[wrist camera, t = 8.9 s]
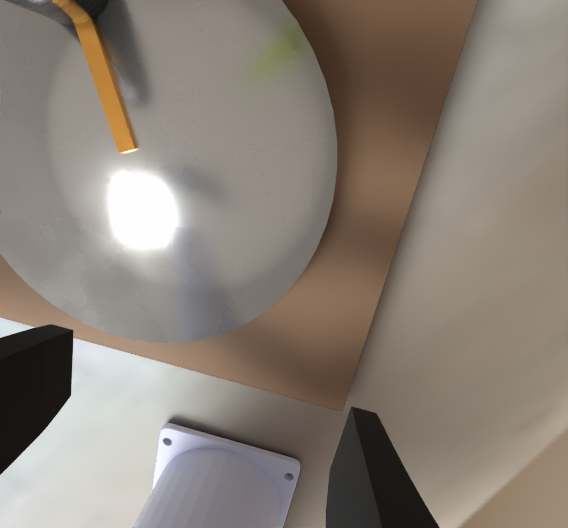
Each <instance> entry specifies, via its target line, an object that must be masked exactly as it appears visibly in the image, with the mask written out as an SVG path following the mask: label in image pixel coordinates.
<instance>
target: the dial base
mask: <svg viewBox="0 0 568 528" xmlns="http://www.w3.org/2000/svg"><path fill="white" fill-rule="evenodd" d="M282 1H283V3H284V4H285V5H286V7H287V8H288V10H289V11H290V12H291V14H292V15H293V16H294V18H295V19H296V20H297V22H298V24H299V25H300V27H301V29H302V31H303V33H304V34H305V36H306V38H307V40H308V42H309V43H310V45H311V47H312V49H313V51H314V53H315V56H316V58H317V61H318V63H319V66H320V68H321V71H322V73H323V76H324V78H325V81H326V85H327V88H328V92H329V96H330V100H331V104H332V108H333V112H334V119H335V127H336V135H337V175H336V183H335V191H334V198H333V202H332V206H331V210H330V214H329V217H328V221H327V225H326V227H325V230H324V232H323V235H322V237H321V239H320V242H319V244H318V247H317V249H316V251H315V253H314V254H313V256H312V258H311V259H310V261H309V263H308V265H307V266H306V268H305V270H304V271H303V272H302V274H301V275H300V276H299V278H298V279H297V280H296V281H295V283H294V284H293V285H292V286H291V288H290V289H289V290H288V291H287V292H286V293H285V294H284V295H283V296H282V297H281V298H280V299H279V300H278V301H277V302H276V303H275V304H273V305H272V306H271V307H270V308H268V309H267V310H265V311H264V312H263V313H261V314H260V315H259V316H257V317H256V318H254V319H253V320H251V321H249V322H247V323H245V324H243V325H241V326H239V327H238V328H236V329H233V330H231V331H228V332H225V333H222V334H220V335H217V336H214V337H210V338H205V339H201V340H196V341H189V342H178V343H157V342H145V341H139V340H133V339H127V338H124V337H120V336H117V335H113V334H109V333H106V332H104V331H101V330H99V329H96V328H94V327H91V326H89V325H87V324H85V323H83V322H81V321H79V320H77V319H75V318H73V317H72V316H70V315H68V314H66V313H65V312H63V311H62V310H60V309H59V308H57V307H56V306H54V305H53V304H51V303H50V302H48V301H47V300H46V299H45V298H43V297H42V296H41V295H40V294H39V293H37V292H36V291H35V290H34V289H33V288H31V287H30V286H29V285H28V284H27V283H26V282H25V281H24V280H23V279H22V278H21V277H20V276H19V275H18V274H17V273H16V272H15V271H14V270H13V269H12V267H11V266H10V265H9V264H8V263H7V261H6V260H5V259H4V258H3V256H2V255H1V254H0V318H4V319H8V320H11V321H15V322H19V323H22V324H26V325H29V326H33V327H40V326H45V325H49V324H53V325H57V326H60V327H64V328H68V329H71V330H73V338H77V339H80V340H84V341H87V342H91V343H95V344H98V345H102V346H106V347H109V348H113V349H116V350H120V351H124V352H127V353H131V354H135V355H138V356H142V357H145V358H149V359H153V360H156V361H160V362H164V363H167V364H171V365H174V366H178V367H182V368H185V369H189V370H193V371H196V372H200V373H203V374H207V375H211V376H214V377H218V378H222V379H225V380H229V381H232V382H236V383H240V384H243V385H247V386H251V387H254V388H258V389H261V390H265V391H269V392H272V393H276V394H280V395H283V396H287V397H290V398H294V399H298V400H301V401H305V402H309V403H312V404H316V405H319V406H323V407H327V408H330V409H334V410H338V411H341V412H342V410H343V407H344V404H345V401H346V398H347V395H348V392H349V389H350V386H351V383H352V380H353V377H354V374H355V371H356V368H357V365H358V362H359V359H360V356H361V353H362V350H363V347H364V344H365V341H366V338H367V335H368V332H369V329H370V326H371V323H372V320H373V317H374V314H375V310H376V307H377V304H378V301H379V298H380V295H381V292H382V289H383V286H384V283H385V280H386V277H387V274H388V271H389V268H390V265H391V262H392V259H393V256H394V253H395V250H396V247H397V244H398V241H399V238H400V235H401V232H402V229H403V226H404V223H405V220H406V217H407V214H408V210H409V207H410V204H411V201H412V198H413V195H414V192H415V189H416V186H417V183H418V180H419V177H420V174H421V171H422V168H423V165H424V162H425V159H426V156H427V153H428V150H429V147H430V144H431V141H432V138H433V135H434V132H435V129H436V126H437V123H438V120H439V117H440V114H441V110H442V107H443V104H444V101H445V98H446V95H447V92H448V89H449V86H450V83H451V80H452V77H453V74H454V71H455V68H456V65H457V62H458V59H459V56H460V53H461V50H462V47H463V44H464V41H465V38H466V35H467V32H468V29H469V26H470V23H471V20H472V17H473V14H474V10H475V7H476V4H477V1H478V0H282Z"/></svg>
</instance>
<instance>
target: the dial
mask: <svg viewBox="0 0 568 528" xmlns="http://www.w3.org/2000/svg"><path fill="white" fill-rule="evenodd" d="M336 175H337V135H336V127H335V119H334V112H333V108H332V104H331V100H330V96H329V92H328V88H327V85H326V81H325V78H324V76H323V73H322V71H321V68H320V66H319V63H318V61H317V58H316V56H315V53H314V51H313V49H312V47H311V45H310V43H309V42H308V40H307V38H306V36H305V34H304V33H303V31H302V29H301V27H300V25H299V24H298V22H297V20H296V19H295V18H294V16H293V15H292V14H291V12H290V11H289V10H288V8H287V7H286V5H285V4H284V3H283V1H282V0H0V254H1V255H2V256H3V258H4V259H5V260H6V261H7V263H8V264H9V265H10V266H11V267H12V269H13V270H14V271H15V272H16V273H17V274H18V275H19V276H20V277H21V278H22V279H23V280H24V281H25V282H26V283H27V284H28V285H29V286H30V287H31V288H33V289H34V290H35V291H36V292H37V293H39V294H40V295H41V296H42V297H43V298H45V299H46V300H47V301H48V302H50V303H51V304H53V305H54V306H56V307H57V308H59V309H60V310H62V311H63V312H65V313H66V314H68V315H70V316H72V317H73V318H75V319H77V320H79V321H81V322H83V323H85V324H87V325H89V326H91V327H94V328H96V329H99V330H101V331H104V332H106V333H109V334H113V335H117V336H120V337H124V338H127V339H133V340H139V341H145V342H157V343H178V342H189V341H196V340H201V339H205V338H210V337H214V336H217V335H220V334H222V333H225V332H228V331H231V330H233V329H236V328H238V327H239V326H241V325H243V324H245V323H247V322H249V321H251V320H253V319H254V318H256V317H257V316H259V315H260V314H261V313H263V312H264V311H265V310H267V309H268V308H270V307H271V306H272V305H273V304H275V303H276V302H277V301H278V300H279V299H280V298H281V297H282V296H283V295H284V294H285V293H286V292H287V291H288V290H289V289H290V288H291V286H292V285H293V284H294V283H295V281H296V280H297V279H298V278H299V276H300V275H301V274H302V272H303V271H304V270H305V268H306V266H307V265H308V263H309V261H310V259H311V258H312V256H313V254H314V253H315V251H316V249H317V247H318V244H319V242H320V239H321V237H322V235H323V232H324V230H325V227H326V225H327V221H328V217H329V214H330V210H331V206H332V202H333V198H334V191H335V183H336Z"/></svg>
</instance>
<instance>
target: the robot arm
mask: <svg viewBox="0 0 568 528" xmlns="http://www.w3.org/2000/svg"><path fill="white" fill-rule="evenodd" d="M72 354H73V330H71V329H68V328H64V327H60V326H57V325H53V324H49V325H45V326H40V327H36V328H33V329H29V330H26V331H22V332H19V333H15V334H12V335H9V336H5V337H2V338H0V475H1V474H2V473H3V472H4V471H5V470H6V469H7V468H8V467H9V466H10V465H11V464H12V463H13V462H14V461H15V460H16V459H17V458H18V457H19V455H20V454H21V453H22V452H23V451H24V450H25V449H26V448H27V447H28V446H29V445H30V444H31V443H32V442H33V441H34V440H35V439H36V438H37V437H38V436H39V435H40V434H41V433H42V432H43V431H44V430H45V428H46V427H47V426H48V425H49V423H50V422H51V421H52V420H53V418H54V417H55V416H56V415H57V413H58V412H59V411H60V409H61V408H62V407H63V405H64V404H65V403H66V401H67V400H68V399H69V397H70V396H71V379H72ZM167 438H169V439H170V440H168V439H167ZM300 468H301V464H300V462H299V461H298V460H297V459H294V458H291V457H288V456H284V455H281V454H277V453H274V452H270V451H267V450H263V449H260V448H256V447H253V446H249V445H246V444H242V443H239V442H235V441H232V440H228V439H225V438H221V437H218V436H214V435H211V434H207V433H204V432H200V431H197V430H193V429H190V428H186V427H183V426H179V425H176V424H172V423H167V424H165V425H163V427H162V429H161V431H160V436H159V443H158V451H157V458H156V465H155V472H154V479H153V486H152V492H151V494H150V496H149V498H148V500H147V502H146V504H145V505H144V507H143V509H142V511H141V513H140V515H139V517H138V519H137V521H136V522H135V524H134V526H133V528H283V526H284V523H285V519H286V516H287V513H288V510H289V506H290V503H291V500H292V496H293V493H294V490H295V487H296V483H297V480H298V477H299V473H300ZM287 473H290V474H292V475H288V474H287ZM326 528H439V526H438V524H437V523H436V521H435V520H434V518H433V516H432V515H431V513H430V511H429V510H428V508H427V506H426V505H425V503H424V501H423V500H422V498H421V496H420V494H419V493H418V491H417V489H416V487H415V486H414V484H413V482H412V480H411V478H410V477H409V475H408V473H407V471H406V469H405V468H404V466H403V464H402V462H401V460H400V458H399V456H398V454H397V452H396V451H395V449H394V447H393V445H392V443H391V441H390V439H389V437H388V435H387V433H386V431H385V429H384V427H383V425H382V423H381V421H380V419H379V417H378V415H377V414H376V413H373V412H370V411H366V410H362V409H359V408H355V407H351V410H350V413H349V416H348V418H347V421H346V424H345V427H344V430H343V433H342V436H341V439H340V442H339V445H338V448H337V451H336V454H335V457H334V460H333V463H332V466H331V469H330V476H329V486H328V496H327V507H326Z"/></svg>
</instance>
